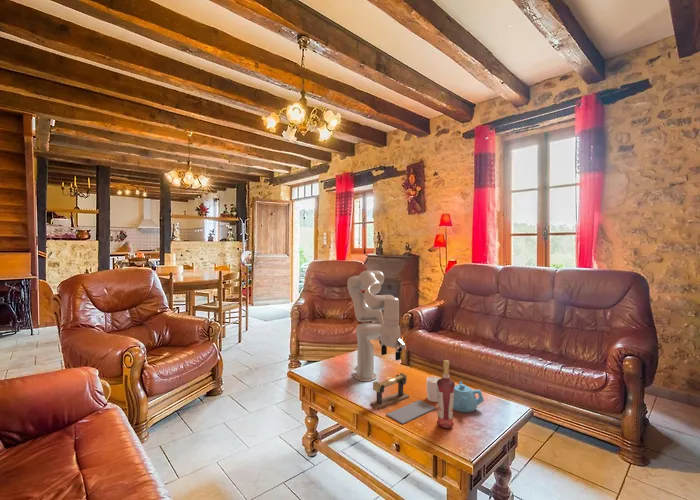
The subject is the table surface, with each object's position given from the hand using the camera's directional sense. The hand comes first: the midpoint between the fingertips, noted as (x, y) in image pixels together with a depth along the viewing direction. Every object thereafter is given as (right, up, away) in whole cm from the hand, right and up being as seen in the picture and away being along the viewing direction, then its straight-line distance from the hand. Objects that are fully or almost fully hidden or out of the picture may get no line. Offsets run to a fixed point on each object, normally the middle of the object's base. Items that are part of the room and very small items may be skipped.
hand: (390, 357), depth 171 cm
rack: (0, -22, +1) cm, 22 cm away
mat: (+8, -22, -10) cm, 26 cm away
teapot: (+33, -23, -5) cm, 41 cm away
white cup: (+22, -22, +3) cm, 32 cm away
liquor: (+21, -23, -22) cm, 38 cm away
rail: (0, -14, 0) cm, 14 cm away
